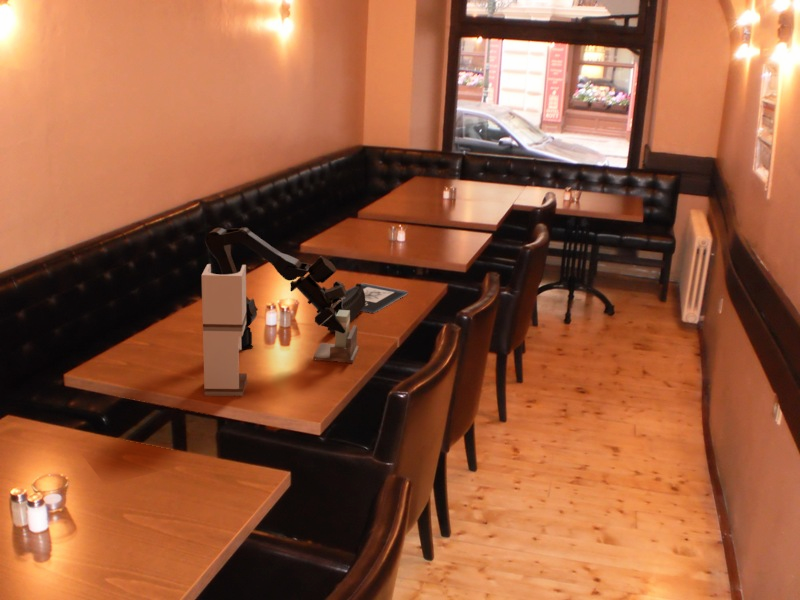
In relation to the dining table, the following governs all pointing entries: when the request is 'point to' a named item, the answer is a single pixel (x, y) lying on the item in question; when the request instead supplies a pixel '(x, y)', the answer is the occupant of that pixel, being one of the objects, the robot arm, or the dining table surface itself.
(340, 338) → the book
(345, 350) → the book rack
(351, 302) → the magazine
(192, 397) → the dining table surface
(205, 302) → the beige rectangular tower
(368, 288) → the sketchbook
